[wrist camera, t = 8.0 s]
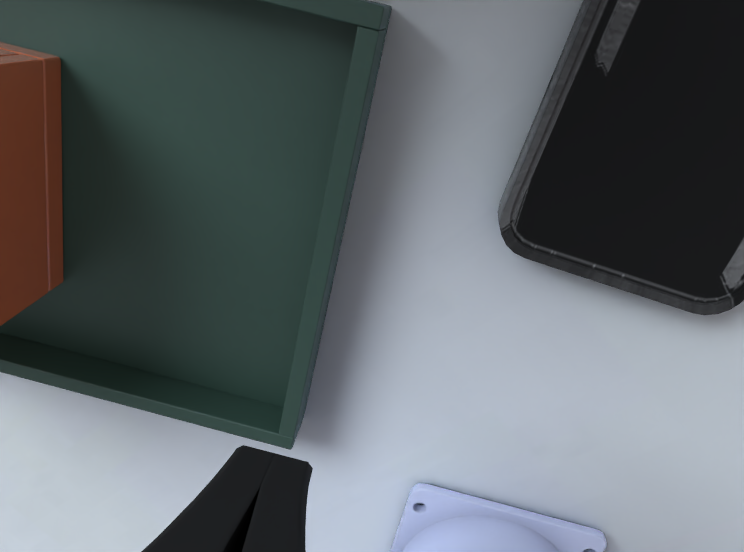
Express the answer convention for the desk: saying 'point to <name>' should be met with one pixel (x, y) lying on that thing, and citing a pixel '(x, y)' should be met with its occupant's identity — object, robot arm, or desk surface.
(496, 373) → the desk surface
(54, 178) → the planter
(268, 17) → the tray
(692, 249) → the phone
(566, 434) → the desk surface
